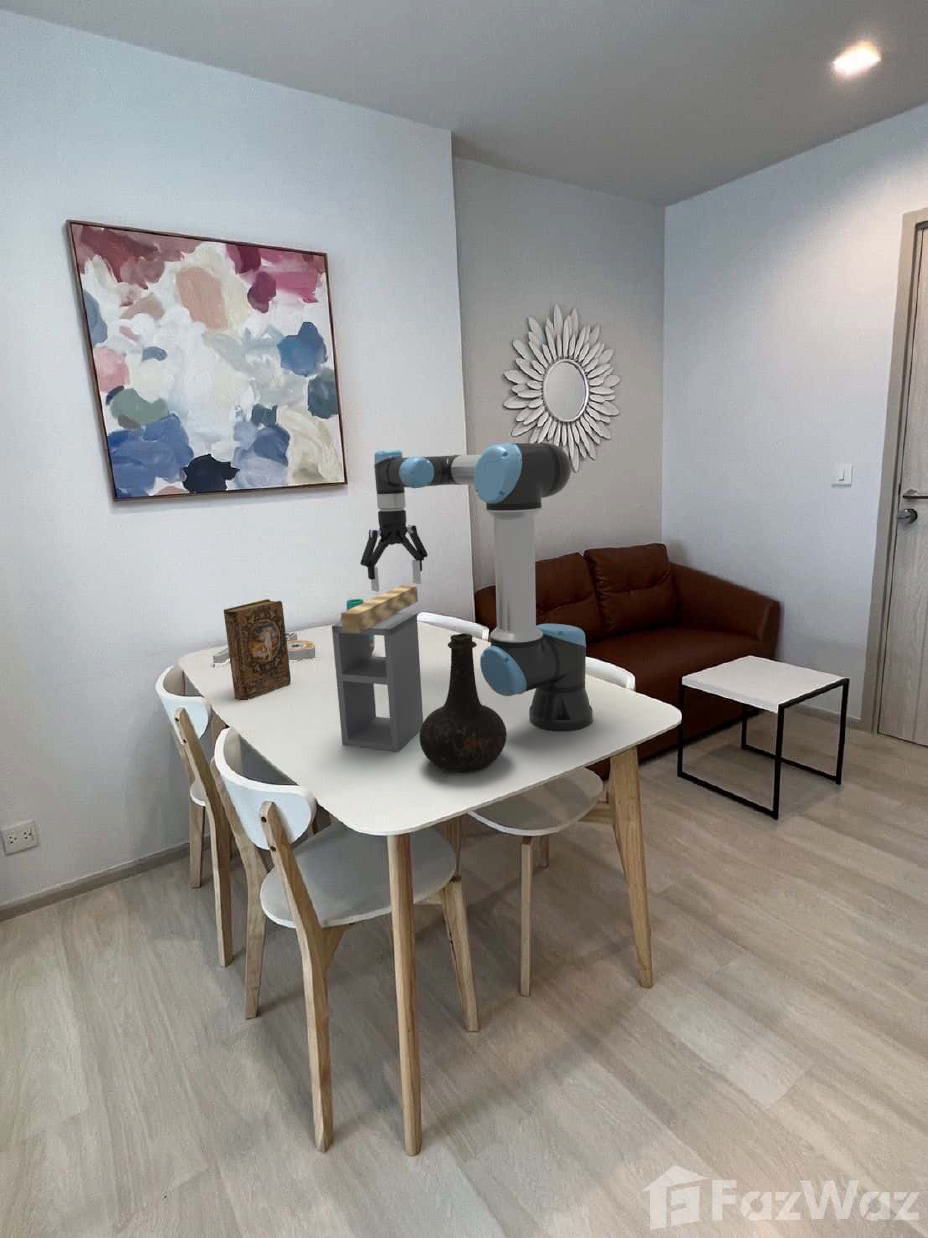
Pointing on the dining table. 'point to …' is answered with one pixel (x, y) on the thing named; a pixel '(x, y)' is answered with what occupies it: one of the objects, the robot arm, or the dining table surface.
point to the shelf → (366, 670)
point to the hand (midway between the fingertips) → (396, 587)
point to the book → (257, 648)
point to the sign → (294, 647)
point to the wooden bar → (378, 608)
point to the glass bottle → (462, 719)
